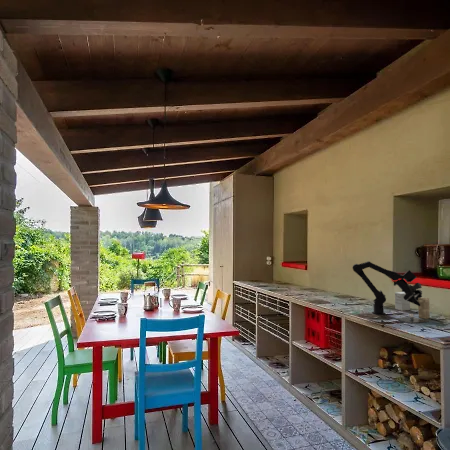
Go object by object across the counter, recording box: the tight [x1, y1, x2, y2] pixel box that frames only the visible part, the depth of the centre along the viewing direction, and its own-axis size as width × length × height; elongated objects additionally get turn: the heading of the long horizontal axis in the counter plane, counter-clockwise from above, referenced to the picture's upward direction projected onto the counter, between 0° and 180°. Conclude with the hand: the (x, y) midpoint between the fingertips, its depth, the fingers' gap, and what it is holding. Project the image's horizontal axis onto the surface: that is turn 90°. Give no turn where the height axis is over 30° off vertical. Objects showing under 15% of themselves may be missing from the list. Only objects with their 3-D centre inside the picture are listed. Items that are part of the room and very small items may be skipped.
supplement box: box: [394, 291, 411, 312], centre depth 268 cm, size 7×7×13 cm
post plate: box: [394, 313, 430, 325], centre depth 232 cm, size 14×14×4 cm
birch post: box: [417, 296, 431, 320], centre depth 240 cm, size 5×5×13 cm
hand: (422, 304), depth 241 cm, fingers open, 9 cm apart
